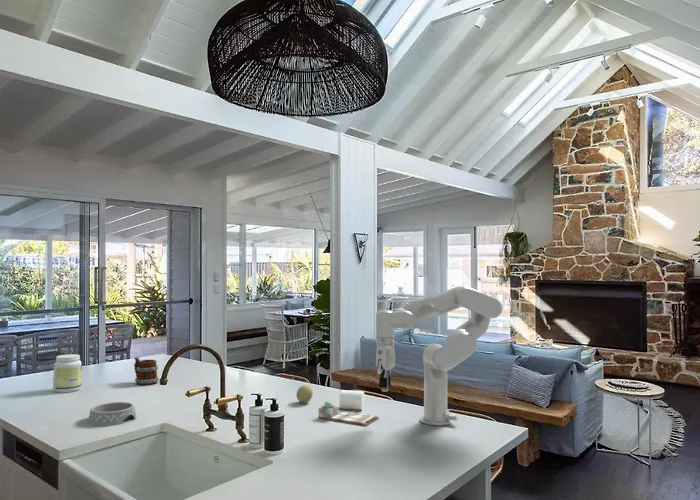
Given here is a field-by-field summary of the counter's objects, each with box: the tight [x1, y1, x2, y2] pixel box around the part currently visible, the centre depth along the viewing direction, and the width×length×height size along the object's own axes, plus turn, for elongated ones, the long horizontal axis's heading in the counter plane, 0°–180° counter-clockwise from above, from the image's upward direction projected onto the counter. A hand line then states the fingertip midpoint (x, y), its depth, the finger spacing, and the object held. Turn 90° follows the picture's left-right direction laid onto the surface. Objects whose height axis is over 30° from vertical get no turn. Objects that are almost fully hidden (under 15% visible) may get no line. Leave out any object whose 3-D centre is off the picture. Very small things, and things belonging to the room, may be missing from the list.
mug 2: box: [338, 389, 366, 411], centre depth 236 cm, size 12×10×8 cm
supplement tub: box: [52, 353, 83, 394], centre depth 260 cm, size 12×12×17 cm
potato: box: [295, 384, 314, 404], centre depth 243 cm, size 8×8×8 cm
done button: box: [324, 400, 333, 409], centre depth 220 cm, size 3×3×3 cm
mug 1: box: [133, 357, 160, 387], centre depth 278 cm, size 12×14×15 cm
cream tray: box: [317, 404, 380, 427], centre depth 219 cm, size 22×12×4 cm, turn 63°
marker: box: [380, 368, 389, 393], centre depth 214 cm, size 3×3×10 cm
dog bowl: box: [87, 401, 137, 427], centre depth 213 cm, size 17×18×5 cm
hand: (384, 386), depth 213 cm, fingers closed on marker, 2 cm apart
